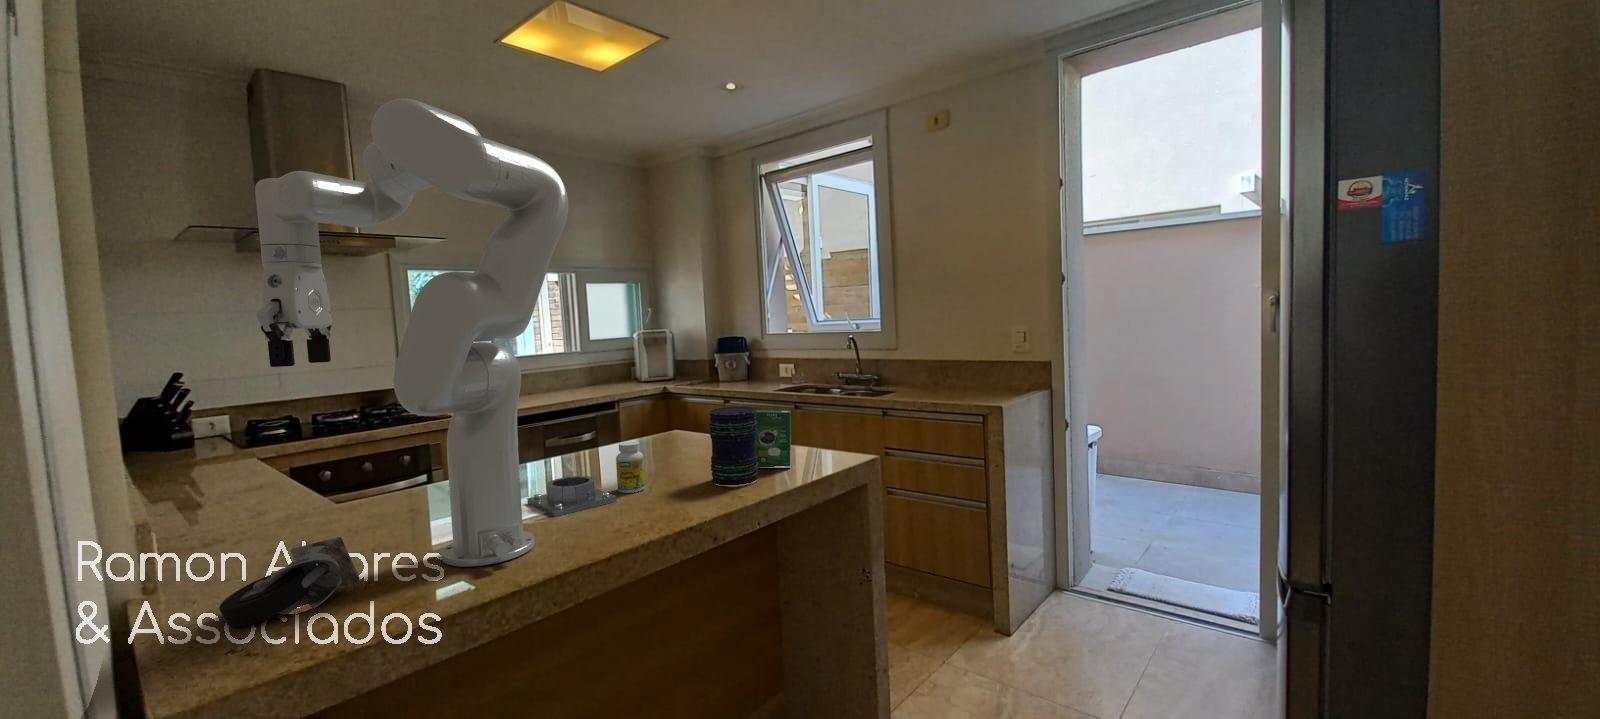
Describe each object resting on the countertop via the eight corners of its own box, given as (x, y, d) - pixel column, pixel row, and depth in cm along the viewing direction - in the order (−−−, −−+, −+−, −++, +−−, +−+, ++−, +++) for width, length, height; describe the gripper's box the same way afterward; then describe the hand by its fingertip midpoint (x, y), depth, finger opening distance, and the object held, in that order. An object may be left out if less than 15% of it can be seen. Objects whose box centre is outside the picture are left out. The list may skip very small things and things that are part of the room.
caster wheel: (217, 650, 74) (278, 599, 84) (313, 626, 74) (363, 578, 84) (191, 601, 72) (257, 555, 82) (289, 576, 73) (343, 534, 82)
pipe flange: (616, 501, 121) (615, 480, 120) (554, 516, 112) (553, 494, 112) (587, 490, 129) (586, 470, 129) (527, 503, 121) (526, 482, 121)
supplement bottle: (645, 485, 132) (643, 439, 131) (645, 492, 127) (642, 444, 126) (618, 487, 131) (615, 441, 130) (616, 494, 125) (614, 446, 125)
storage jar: (702, 481, 134) (699, 411, 133) (740, 472, 140) (737, 405, 139) (729, 490, 126) (727, 416, 125) (768, 480, 133) (766, 410, 132)
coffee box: (792, 466, 145) (791, 409, 144) (791, 469, 142) (790, 411, 141) (757, 466, 146) (756, 409, 145) (755, 469, 143) (754, 411, 142)
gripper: (283, 252, 94) (294, 367, 96) (347, 262, 112) (355, 359, 113) (226, 253, 93) (238, 369, 95) (299, 263, 110) (309, 362, 112)
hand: (302, 364), depth 104 cm, fingers open, 9 cm apart
